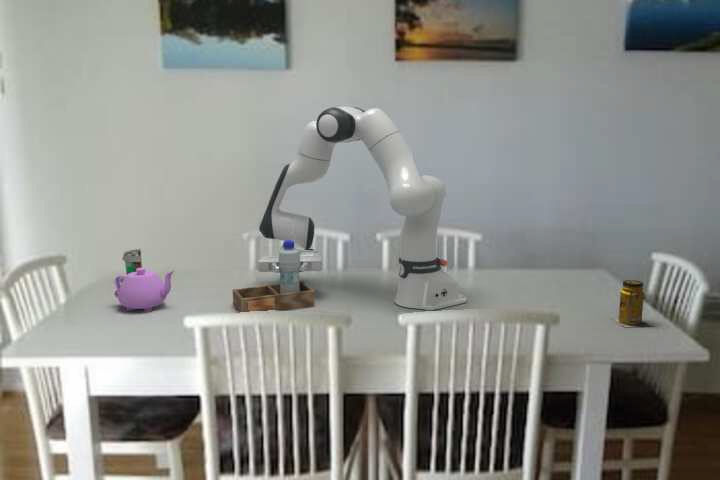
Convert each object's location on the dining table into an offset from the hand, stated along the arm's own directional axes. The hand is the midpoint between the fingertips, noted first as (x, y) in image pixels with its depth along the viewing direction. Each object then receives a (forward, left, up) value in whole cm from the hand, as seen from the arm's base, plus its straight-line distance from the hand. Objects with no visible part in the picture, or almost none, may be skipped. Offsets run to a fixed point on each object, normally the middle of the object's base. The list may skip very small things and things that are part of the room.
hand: (289, 269), depth 201 cm
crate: (+5, -1, -11) cm, 12 cm away
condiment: (-83, +56, -11) cm, 101 cm away
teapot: (+41, -16, -11) cm, 46 cm away
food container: (+42, -50, -11) cm, 66 cm away
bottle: (0, -1, -11) cm, 11 cm away
